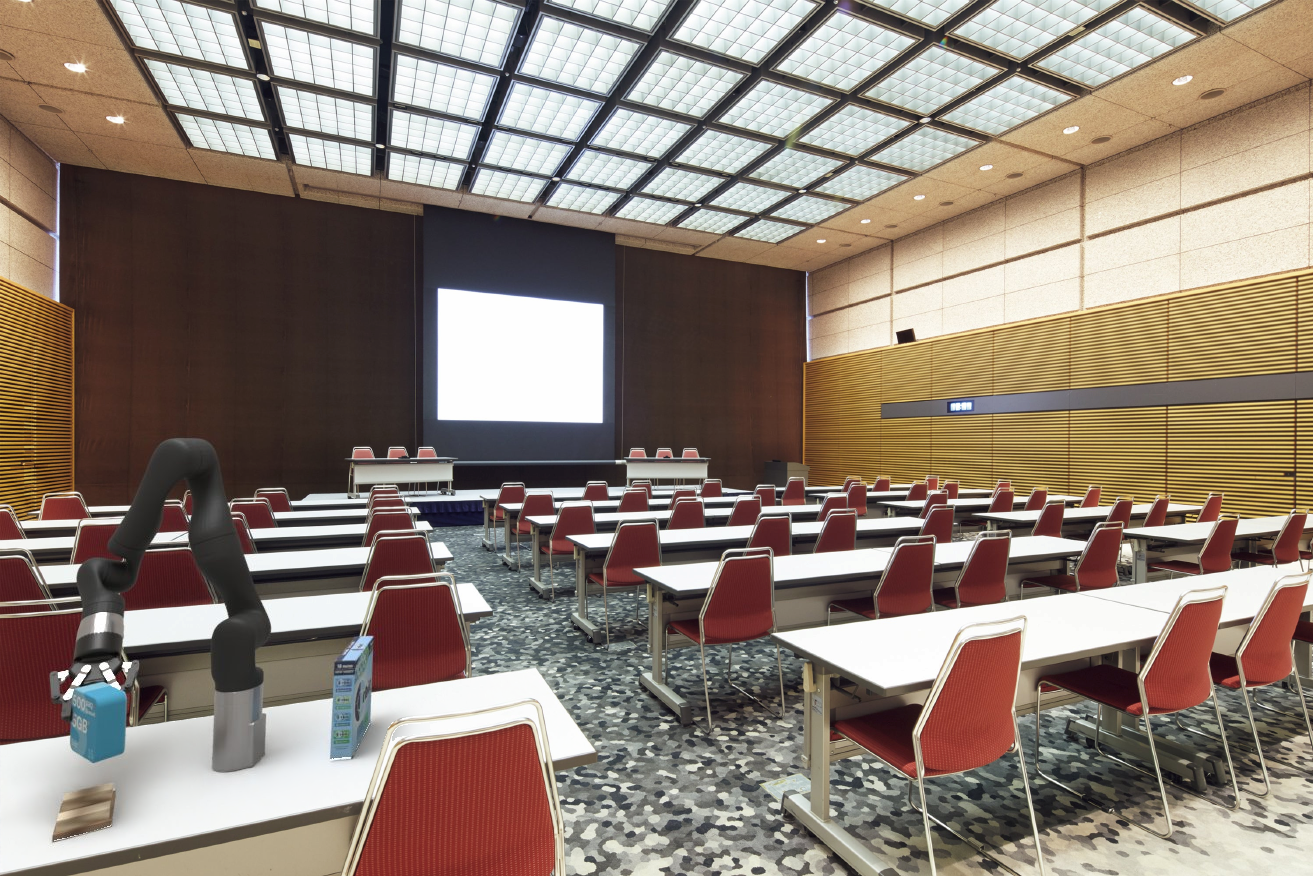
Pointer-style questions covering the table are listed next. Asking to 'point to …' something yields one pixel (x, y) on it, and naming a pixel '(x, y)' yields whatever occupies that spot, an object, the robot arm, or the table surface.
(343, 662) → the blue product box
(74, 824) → the display stand
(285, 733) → the table surface
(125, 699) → the data package
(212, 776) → the table surface
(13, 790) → the table surface
